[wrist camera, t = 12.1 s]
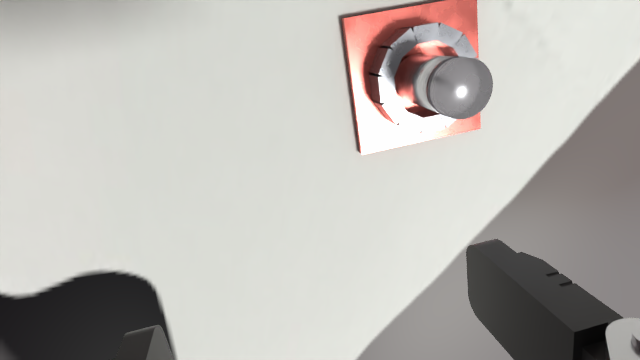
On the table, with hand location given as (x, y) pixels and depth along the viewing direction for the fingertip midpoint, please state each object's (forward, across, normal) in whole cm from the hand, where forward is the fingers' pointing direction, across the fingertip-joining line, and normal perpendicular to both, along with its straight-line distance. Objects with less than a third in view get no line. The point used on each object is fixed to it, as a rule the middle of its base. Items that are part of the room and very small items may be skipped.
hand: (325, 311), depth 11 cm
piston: (+33, -17, 0) cm, 37 cm away
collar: (+34, -17, 0) cm, 38 cm away
